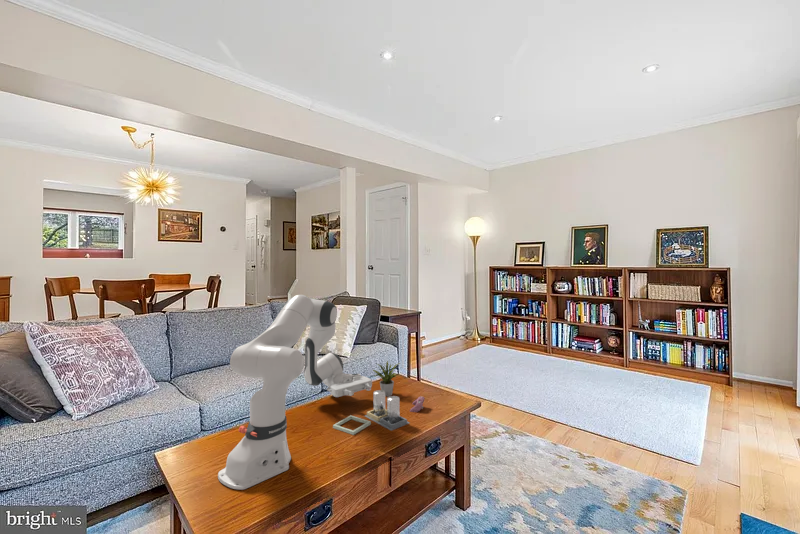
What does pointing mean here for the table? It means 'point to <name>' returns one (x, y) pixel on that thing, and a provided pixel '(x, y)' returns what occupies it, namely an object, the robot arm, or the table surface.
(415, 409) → the video game controller
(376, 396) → the steel billet
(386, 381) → the house plant
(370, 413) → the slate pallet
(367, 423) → the tray
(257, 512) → the table surface
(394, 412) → the cylinder
